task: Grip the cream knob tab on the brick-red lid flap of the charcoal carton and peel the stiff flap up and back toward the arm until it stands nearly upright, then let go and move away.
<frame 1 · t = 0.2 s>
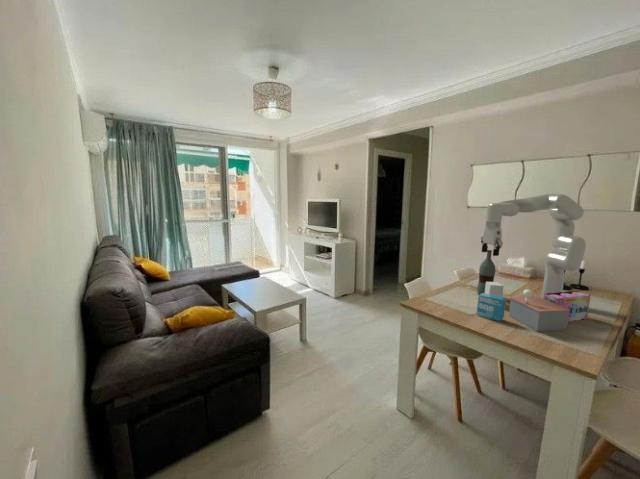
hand: (489, 253, 166), 31 cm above the table, tool pointing down, fingers open, 9 cm apart
lid flap: (538, 296, 145), point 14 cm above the table, hinge at 0.0°
supplement box: (492, 303, 173), on the table
gum box: (563, 318, 154), on the table
carton: (535, 322, 148), on the table
bottle: (484, 295, 187), on the table
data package: (489, 317, 154), on the table
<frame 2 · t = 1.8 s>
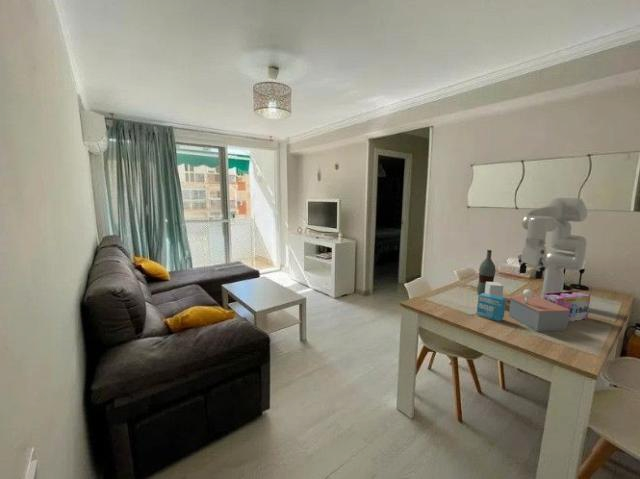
hand: (530, 275, 143), 26 cm above the table, tool pointing down, fingers open, 9 cm apart
nothing on the table moved.
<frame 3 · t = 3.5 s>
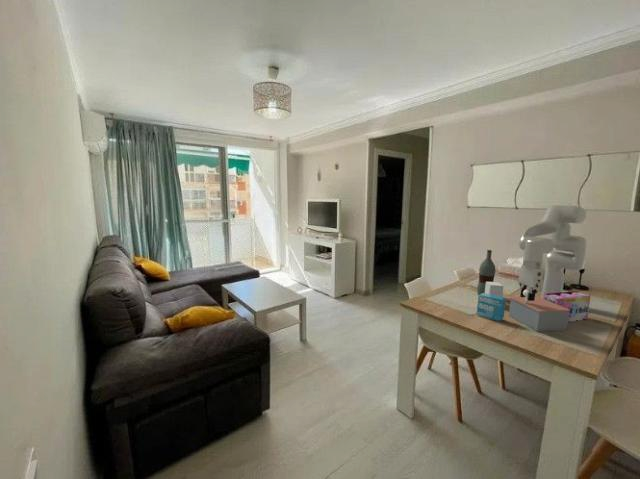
hand: (527, 298, 145), 13 cm above the table, tool pointing down, fingers closed on lid flap, 4 cm apart
lid flap: (538, 296, 145), point 14 cm above the table, hinge at 0.0°, touching gripper
everything else where it was.
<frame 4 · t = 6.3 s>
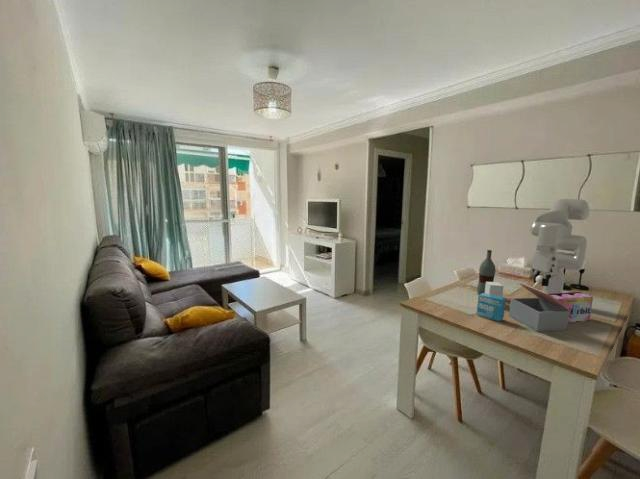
hand: (540, 284, 144), 21 cm above the table, tool pointing down, fingers closed on lid flap, 4 cm apart
lid flap: (546, 289, 145), point 18 cm above the table, hinge at 33.6°, touching gripper
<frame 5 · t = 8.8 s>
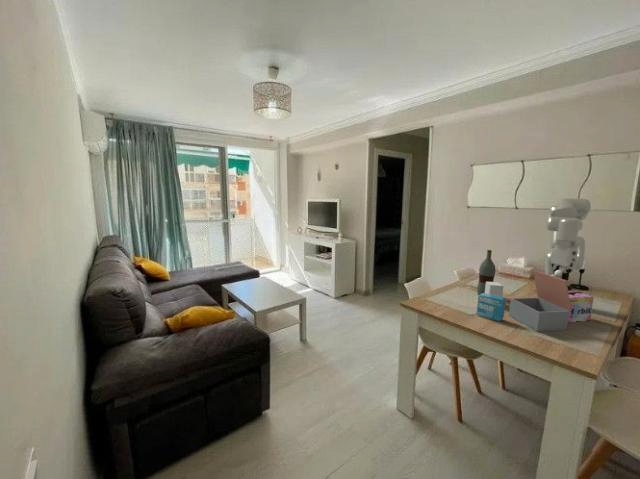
hand: (560, 278, 145), 24 cm above the table, tool pointing down, fingers closed on lid flap, 4 cm apart
lid flap: (557, 286, 146), point 19 cm above the table, hinge at 71.1°, touching gripper, gum box
gum box: (565, 319, 153), on the table, touching lid flap
everything else where it was.
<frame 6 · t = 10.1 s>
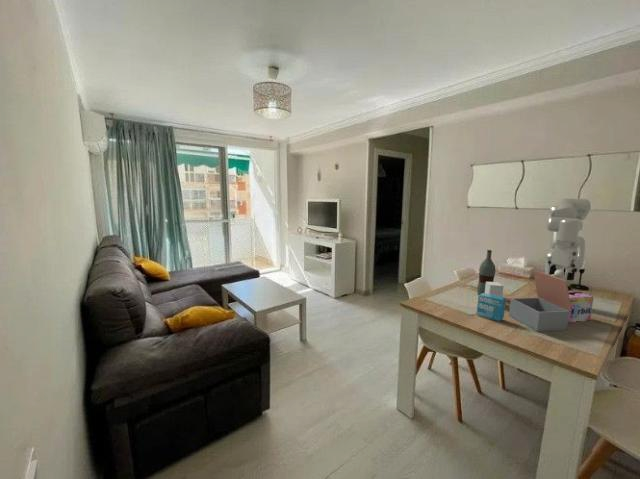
hand: (560, 277, 145), 24 cm above the table, tool pointing down, fingers open, 9 cm apart
lid flap: (557, 286, 146), point 19 cm above the table, hinge at 71.3°
gum box: (565, 319, 153), on the table
everything else where it was.
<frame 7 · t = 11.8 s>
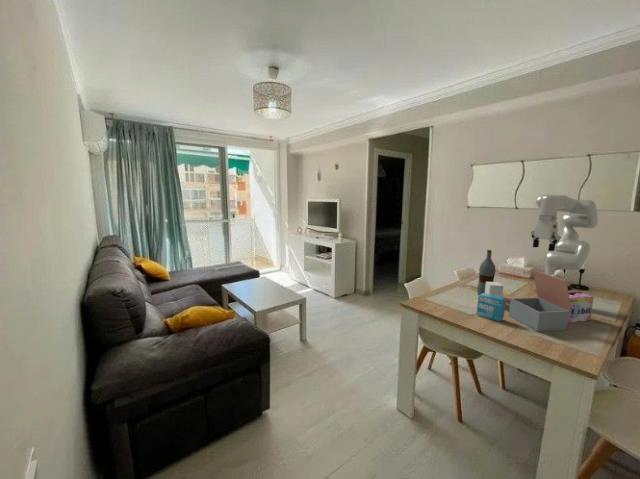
hand: (543, 248, 159), 36 cm above the table, tool pointing down, fingers open, 9 cm apart
nothing on the table moved.
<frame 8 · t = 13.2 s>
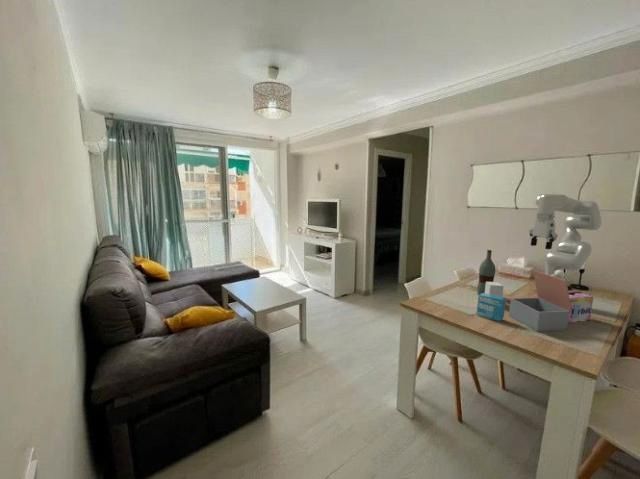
hand: (540, 247, 161), 36 cm above the table, tool pointing down, fingers open, 9 cm apart
nothing on the table moved.
at the end: lid flap at +71° (first picture: +0°); gum box moved 1.5 cm from its start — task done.
